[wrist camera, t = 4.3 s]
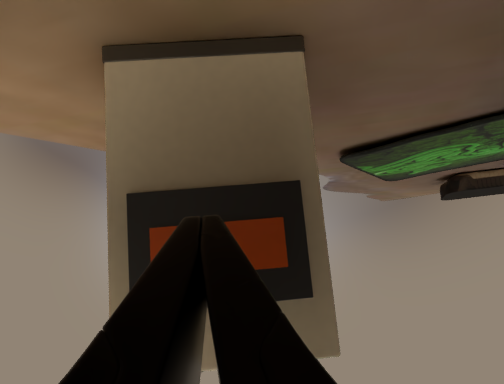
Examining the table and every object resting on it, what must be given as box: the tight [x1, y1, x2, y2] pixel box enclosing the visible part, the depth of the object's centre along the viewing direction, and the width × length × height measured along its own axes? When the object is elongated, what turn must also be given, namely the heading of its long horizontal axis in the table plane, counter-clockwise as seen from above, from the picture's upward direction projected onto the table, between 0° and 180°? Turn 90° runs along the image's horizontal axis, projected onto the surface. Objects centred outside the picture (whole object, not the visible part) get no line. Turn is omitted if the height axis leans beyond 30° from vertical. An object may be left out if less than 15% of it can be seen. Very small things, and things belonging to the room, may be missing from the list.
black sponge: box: [440, 169, 504, 200], centre depth 60 cm, size 16×8×4 cm, turn 101°
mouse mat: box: [340, 114, 504, 181], centre depth 38 cm, size 27×22×1 cm
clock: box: [102, 36, 340, 372], centre depth 17 cm, size 6×9×14 cm, turn 87°
